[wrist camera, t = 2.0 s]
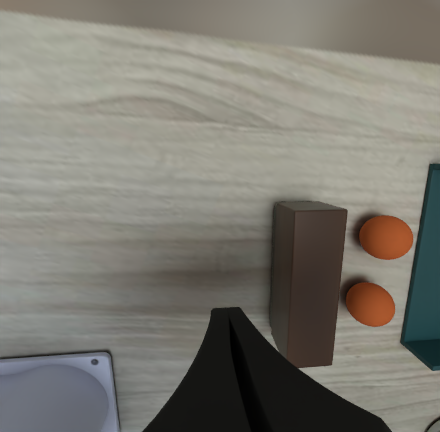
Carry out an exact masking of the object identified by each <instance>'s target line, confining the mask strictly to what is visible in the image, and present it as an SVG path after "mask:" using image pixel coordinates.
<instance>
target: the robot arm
mask: <svg viewBox="0 0 440 432" xmlns="http://www.w3.org/2000/svg"><path fill="white" fill-rule="evenodd" d="M94 359H97V360H98V361H95V360H94ZM0 432H120V428H119V420H118V412H117V404H116V396H115V388H114V379H113V371H112V363H111V357H110V355H109V354H108V353H106V352H98V353H84V354H70V355H56V356H42V357H28V358H14V359H0ZM142 432H392V431H391V430H390V429H389V427H388V426H387V425H386V424H385V423H384V421H383V420H382V419H381V418H379V417H377V416H376V415H374V414H372V413H370V412H368V411H366V410H364V409H362V408H360V407H358V406H356V405H354V404H352V403H351V402H349V401H347V400H345V399H343V398H342V397H340V396H338V395H337V394H335V393H333V392H332V391H330V390H328V389H327V388H325V387H324V386H322V385H321V384H319V383H318V382H316V381H315V380H313V379H312V378H310V377H309V376H308V375H306V374H305V373H303V372H302V371H301V370H299V369H298V368H297V367H295V366H294V365H293V364H292V363H291V362H289V361H288V360H287V359H286V358H285V357H283V356H282V355H281V354H280V353H279V352H278V351H277V350H276V349H275V348H274V347H273V346H272V345H271V344H270V343H269V342H268V341H267V340H266V339H265V338H264V337H263V336H262V334H261V333H260V332H259V331H258V330H257V329H256V328H255V326H254V325H253V324H252V323H251V321H250V320H249V319H248V318H247V316H246V315H245V314H244V312H243V311H242V309H241V308H240V307H230V308H213V309H212V310H211V317H210V322H209V325H208V328H207V331H206V334H205V337H204V340H203V342H202V344H201V346H200V349H199V351H198V353H197V355H196V357H195V359H194V361H193V363H192V365H191V367H190V368H189V370H188V372H187V374H186V375H185V377H184V378H183V380H182V381H181V383H180V385H179V386H178V388H177V389H176V391H175V392H174V393H173V395H172V396H171V397H170V399H169V400H168V401H167V403H166V404H165V405H164V406H163V408H162V409H161V410H160V412H159V413H158V414H157V415H156V417H155V418H154V419H153V420H152V421H151V422H150V424H149V425H148V426H147V427H146V428H145V429H144V430H143V431H142Z"/></svg>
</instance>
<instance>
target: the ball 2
mask: <svg viewBox="0 0 440 432" xmlns="http://www.w3.org/2000/svg"><path fill="white" fill-rule="evenodd" d="M346 305H347V308H348V311H349V312H350V314H351V315H352V316H353V317H354V318H355V319H356V320H357V321H359V322H360V323H362V324H364V325H367V326H372V327H378V326H383V325H385V324H387V323H388V322H390V321H391V319H392V318H393V316H394V313H395V304H394V301H393V299H392V297H391V295H390V294H389V293H388V292H387V291H386V290H385V289H384V288H382V287H381V286H379V285H377V284H374V283H368V282H363V283H358V284H356V285H354V286H353V287H351V288H350V290H349V291H348V293H347V295H346Z"/></svg>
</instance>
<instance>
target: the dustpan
mask: <svg viewBox="0 0 440 432" xmlns="http://www.w3.org/2000/svg"><path fill="white" fill-rule="evenodd" d="M401 344H402V345H403V346H405V347H406V348H407V349H408V350H409V351H410V352H411V353H413V354H414V355H415V356H416V357H417V358H418V359H419V360H421V361H422V362H423V363H424V364H425V365H426V366H427V367H429V368H430V369H431V370H432V371H437V370H440V164H430V169H429V175H428V181H427V187H426V193H425V199H424V206H423V212H422V218H421V224H420V230H419V236H418V242H417V248H416V254H415V260H414V266H413V272H412V278H411V284H410V290H409V296H408V302H407V308H406V314H405V320H404V326H403V332H402V338H401Z"/></svg>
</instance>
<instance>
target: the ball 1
mask: <svg viewBox="0 0 440 432" xmlns="http://www.w3.org/2000/svg"><path fill="white" fill-rule="evenodd" d="M359 239H360V243H361V245H362V247H363V248H364V250H365V251H366V252H367V253H369V254H370V255H372V256H374V257H376V258H379V259H385V260H390V259H396V258H399V257H401V256H403V255H405V254H406V253H407V252H408V251H409V250H410V248H411V246H412V244H413V234H412V231H411V229H410V227H409V226H408V225H407V224H406V223H405V222H404V221H402V220H400V219H399V218H396V217H393V216H377V217H374V218H372V219H370V220H368V221H367V222H366V223H365V224H364V225H363V226H362V228H361V230H360V234H359Z"/></svg>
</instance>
